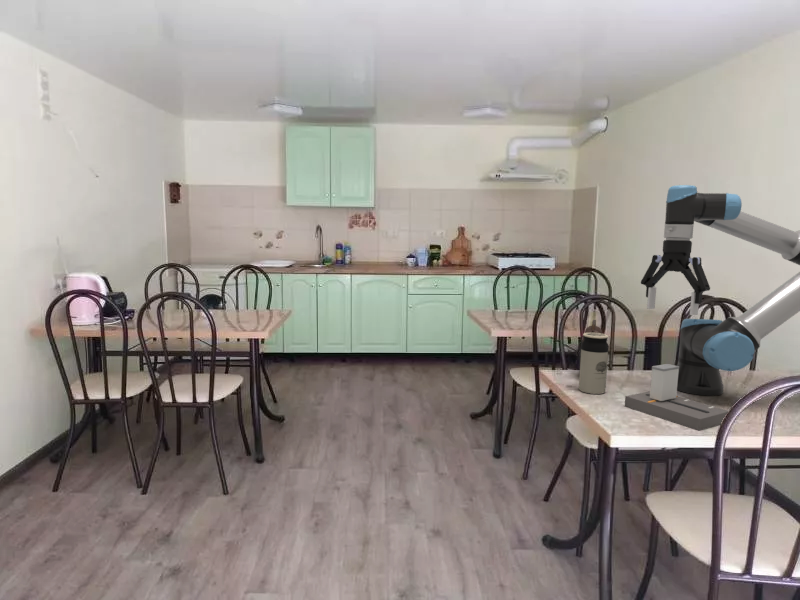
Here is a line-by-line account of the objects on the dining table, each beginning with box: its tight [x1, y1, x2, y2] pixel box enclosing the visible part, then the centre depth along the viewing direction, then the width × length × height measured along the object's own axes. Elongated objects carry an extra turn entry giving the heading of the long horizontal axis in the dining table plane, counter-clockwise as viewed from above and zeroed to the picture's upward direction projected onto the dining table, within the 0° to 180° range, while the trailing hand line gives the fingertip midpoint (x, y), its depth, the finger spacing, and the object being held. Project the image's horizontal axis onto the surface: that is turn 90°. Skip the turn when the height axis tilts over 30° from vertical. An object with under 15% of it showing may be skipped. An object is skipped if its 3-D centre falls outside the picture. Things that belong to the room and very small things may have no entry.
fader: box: [649, 363, 679, 401], centre depth 155 cm, size 4×7×9 cm, turn 121°
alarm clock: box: [579, 319, 603, 362], centre depth 189 cm, size 15×7×20 cm, turn 159°
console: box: [624, 390, 729, 431], centre depth 153 cm, size 22×14×3 cm, turn 31°
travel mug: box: [578, 332, 610, 395], centre depth 173 cm, size 8×8×18 cm
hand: (671, 311), depth 163 cm, fingers open, 13 cm apart
